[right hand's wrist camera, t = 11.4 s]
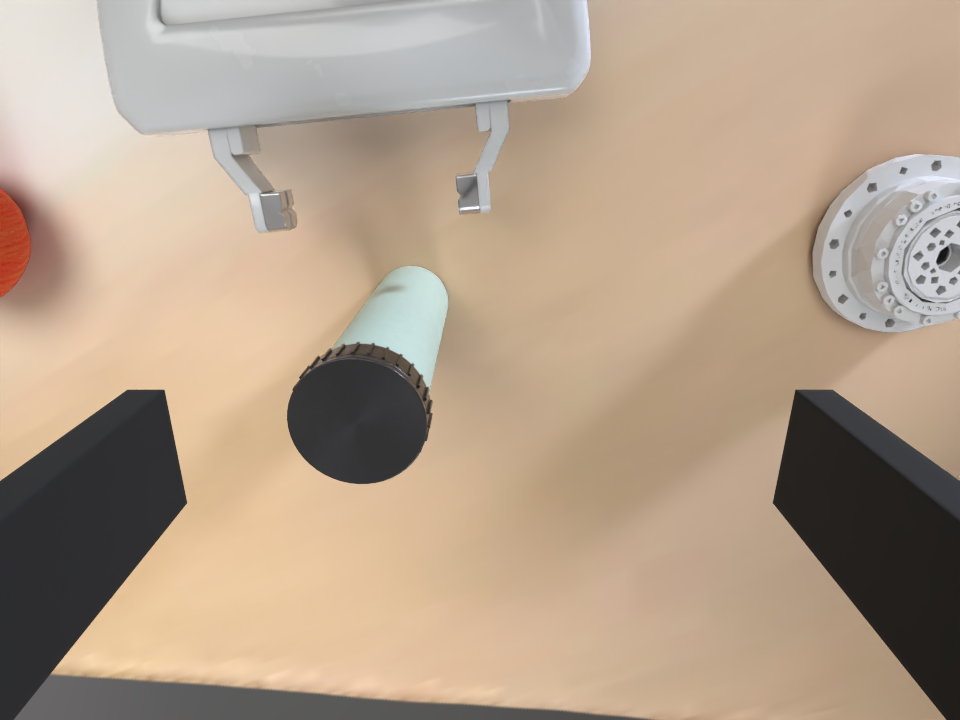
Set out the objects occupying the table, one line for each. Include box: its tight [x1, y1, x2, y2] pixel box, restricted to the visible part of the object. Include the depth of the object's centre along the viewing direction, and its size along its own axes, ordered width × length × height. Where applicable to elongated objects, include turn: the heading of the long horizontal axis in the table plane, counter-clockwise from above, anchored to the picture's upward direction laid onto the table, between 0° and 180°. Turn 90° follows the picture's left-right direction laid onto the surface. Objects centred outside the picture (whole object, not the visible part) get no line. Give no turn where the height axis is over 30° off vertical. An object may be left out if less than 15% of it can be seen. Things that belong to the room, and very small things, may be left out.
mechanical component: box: [812, 154, 960, 332], centre depth 33 cm, size 10×4×10 cm
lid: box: [287, 342, 432, 484], centre depth 21 cm, size 5×5×2 cm
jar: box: [332, 266, 448, 392], centre depth 29 cm, size 4×4×16 cm
